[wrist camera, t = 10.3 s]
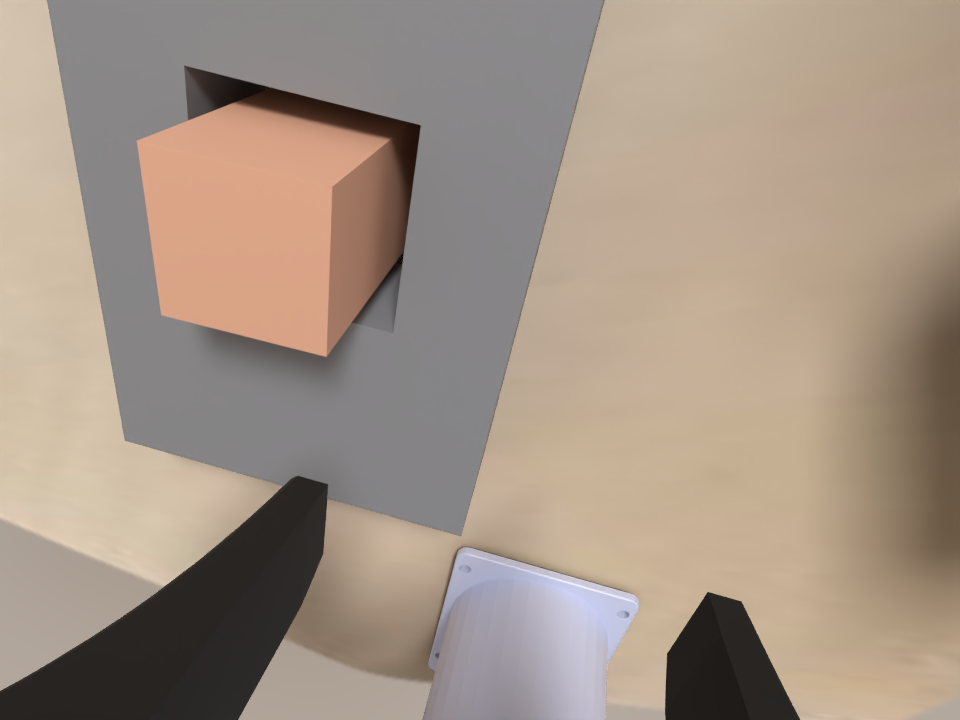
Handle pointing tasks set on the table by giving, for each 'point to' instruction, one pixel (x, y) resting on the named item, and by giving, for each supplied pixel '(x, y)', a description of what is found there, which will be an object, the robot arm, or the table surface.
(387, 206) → the peg
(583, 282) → the table surface
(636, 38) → the table surface
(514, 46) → the socket board
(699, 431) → the table surface
